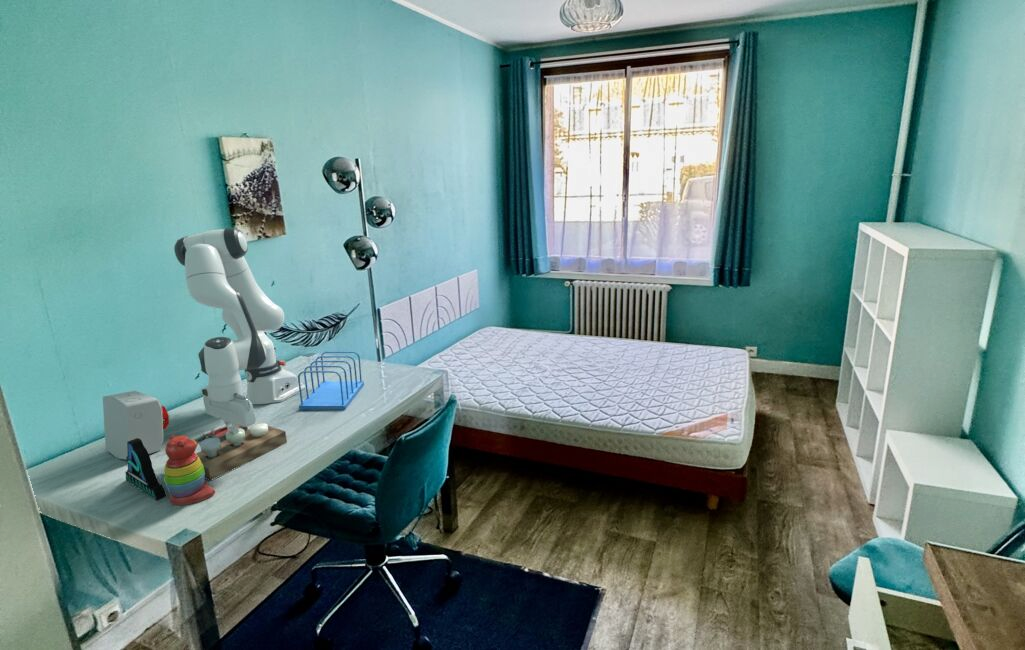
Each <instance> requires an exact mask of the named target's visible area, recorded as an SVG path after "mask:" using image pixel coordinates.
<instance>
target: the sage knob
mask: <svg viewBox="0 0 1025 650" xmlns="http://www.w3.org/2000/svg"><path fill="white" fill-rule="evenodd" d="M238 429H239V432H238V433H237V434H232V433H229V432H227V433H226V439H227V442H229V443H233V447H235V448H236V447H238V446H240V445H242V443H241V441H242V440H243V439H245V431H244V429H241V428H238Z"/></svg>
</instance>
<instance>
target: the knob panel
mask: <svg viewBox="0 0 1025 650" xmlns="http://www.w3.org/2000/svg"><path fill="white" fill-rule="evenodd" d="M268 431H269V432H268V433H267V434H266V435H264V436H260V437H253V436H251V432H250V428H249V429H248V430H247V431H245V439H243V440H242V441H241V443H242V445H240V446H238V447H236V448H235V447H233V443H229V442H227V440H224V441H222V442H220V443H221V447H220V449H218V450H216V451H217V457H215V458H213V459H208V454H207V453H204V452H202V451H198V452H195V453H196V454H197V455H198V457H199V459H200V460H201V463H202V464H203V467H204V471H205V478H207V479H209V480H208V481H210V480H212V479H214V478H216V477H218V476H220V475H222V474H224V473H226V472H228V471H230V470H231V471H233V470H235V469H237V468H239V467H241V466H243V465H245V464H247V463H249V462H251V461H253V460H254V459H257V458H259V457H261V456H263V455H266V454H267V453H268V452H272V451H273V450H275V449H277V448H278V447H281V446H282V445H284V444H287V443H288V441H287V440H288V439H287V434H286V433H287V432H286V431H285V430H282V429H279V428H276V427H274V426H270V425H268ZM250 460H251V461H250ZM248 461H249V462H248ZM246 462H247V463H246ZM244 463H245V464H244ZM242 464H243V465H242ZM240 465H241V466H240ZM238 466H239V467H238ZM236 467H237V468H236ZM234 468H235V469H234ZM232 469H233V470H232ZM231 471H230V472H231ZM228 473H229V472H228ZM226 474H227V473H226ZM224 475H225V474H224ZM222 476H223V475H222ZM220 477H221V476H220ZM205 478H204V479H205ZM218 478H219V477H218ZM207 479H206V480H207ZM216 479H217V478H216ZM214 480H215V479H214ZM212 481H213V480H212Z"/></svg>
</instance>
